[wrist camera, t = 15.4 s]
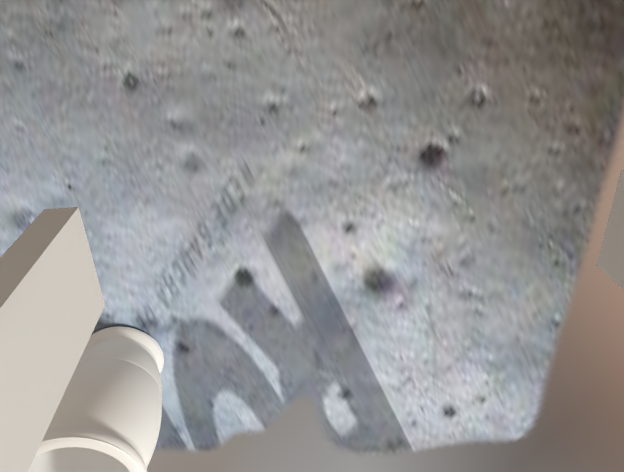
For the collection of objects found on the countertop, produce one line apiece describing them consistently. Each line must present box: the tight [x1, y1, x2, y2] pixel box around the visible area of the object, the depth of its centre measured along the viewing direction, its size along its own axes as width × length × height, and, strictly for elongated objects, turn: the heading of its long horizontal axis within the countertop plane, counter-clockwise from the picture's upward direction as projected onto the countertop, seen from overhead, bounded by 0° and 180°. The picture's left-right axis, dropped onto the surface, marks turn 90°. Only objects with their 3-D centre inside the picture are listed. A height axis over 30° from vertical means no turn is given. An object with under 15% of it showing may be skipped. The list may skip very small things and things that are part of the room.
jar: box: [28, 327, 164, 472], centre depth 46 cm, size 11×10×15 cm
